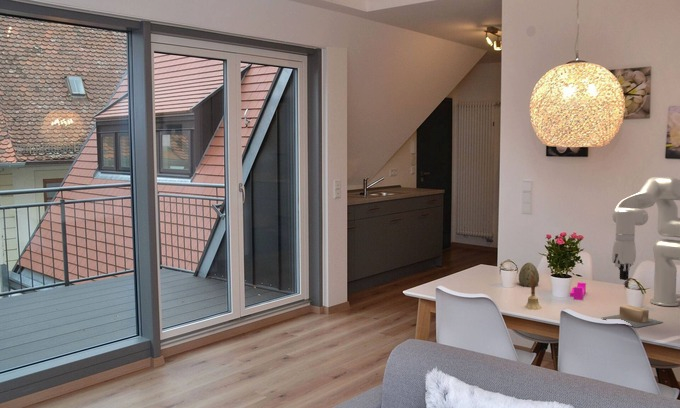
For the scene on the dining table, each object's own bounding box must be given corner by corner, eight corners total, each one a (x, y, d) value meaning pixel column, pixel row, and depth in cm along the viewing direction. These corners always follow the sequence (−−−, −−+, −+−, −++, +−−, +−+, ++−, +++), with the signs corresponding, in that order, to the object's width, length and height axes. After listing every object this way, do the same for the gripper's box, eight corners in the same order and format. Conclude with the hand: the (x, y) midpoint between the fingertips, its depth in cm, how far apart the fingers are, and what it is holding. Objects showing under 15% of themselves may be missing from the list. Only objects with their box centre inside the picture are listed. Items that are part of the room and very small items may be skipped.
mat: (627, 313, 285) (627, 313, 285) (663, 322, 270) (663, 321, 270) (600, 318, 277) (600, 317, 277) (636, 328, 261) (636, 327, 261)
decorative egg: (526, 286, 348) (526, 260, 347) (542, 289, 339) (543, 262, 338) (514, 289, 341) (514, 262, 340) (531, 292, 333) (531, 265, 332)
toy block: (572, 295, 325) (573, 281, 324) (585, 297, 322) (585, 282, 321) (568, 301, 312) (568, 287, 311) (581, 302, 309) (581, 288, 308)
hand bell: (525, 310, 294) (526, 277, 292) (522, 306, 302) (523, 274, 301) (543, 310, 292) (544, 277, 291) (540, 306, 301) (540, 274, 300)
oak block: (619, 317, 277) (628, 316, 280) (639, 322, 268) (648, 321, 271) (619, 306, 277) (628, 305, 280) (639, 311, 268) (648, 309, 271)
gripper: (628, 235, 275) (627, 276, 276) (606, 238, 268) (605, 279, 269) (643, 237, 268) (642, 279, 270) (621, 240, 261) (619, 282, 263)
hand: (623, 279), depth 269 cm, fingers closed
